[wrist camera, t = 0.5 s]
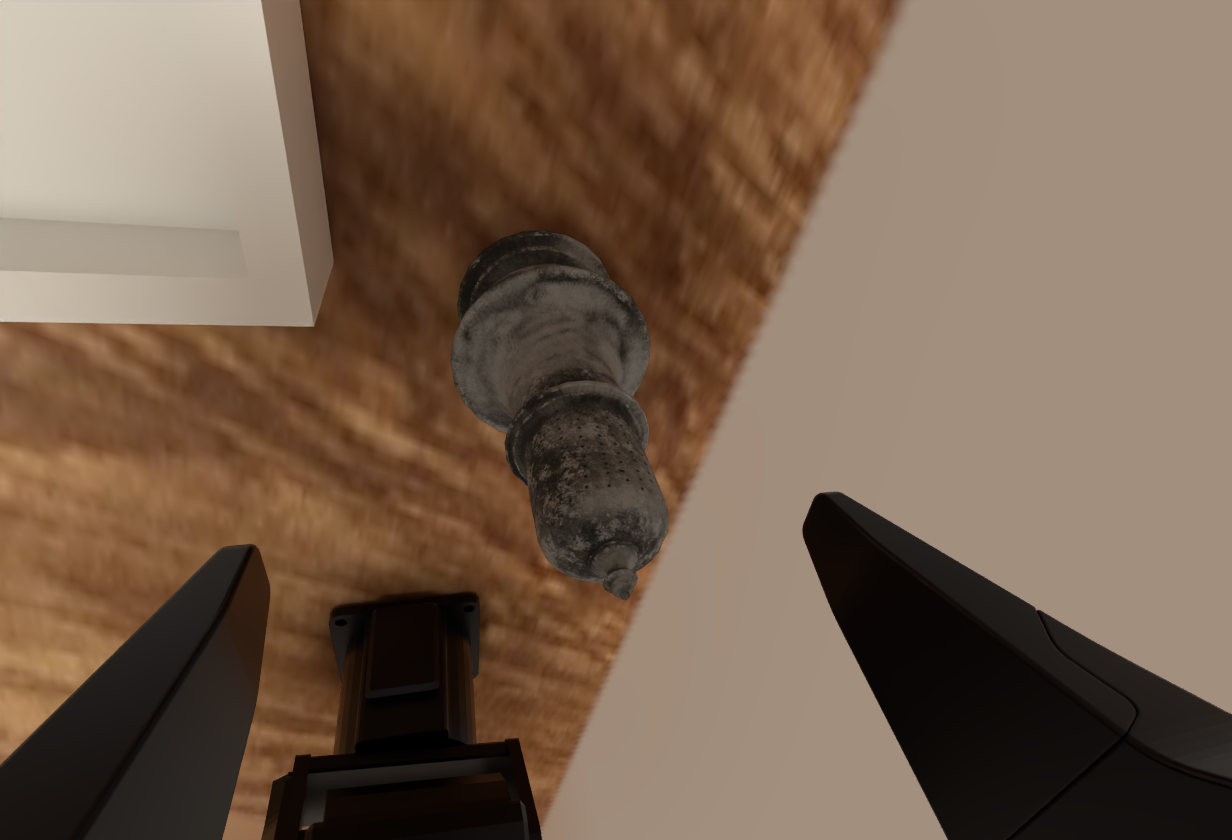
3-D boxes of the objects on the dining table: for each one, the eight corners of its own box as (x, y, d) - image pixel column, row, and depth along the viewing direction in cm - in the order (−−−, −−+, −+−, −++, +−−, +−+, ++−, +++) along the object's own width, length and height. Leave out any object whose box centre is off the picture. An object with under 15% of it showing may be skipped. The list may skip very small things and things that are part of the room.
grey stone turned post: (549, 180, 18) (671, 420, 9) (653, 311, 22) (818, 578, 12) (408, 302, 19) (388, 623, 10) (528, 406, 23) (595, 714, 14)
